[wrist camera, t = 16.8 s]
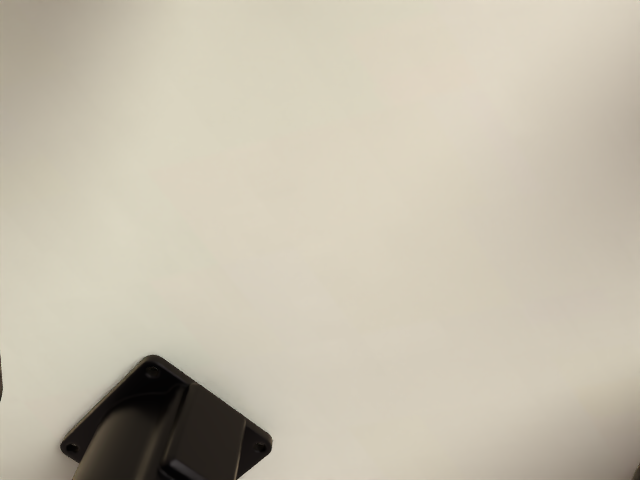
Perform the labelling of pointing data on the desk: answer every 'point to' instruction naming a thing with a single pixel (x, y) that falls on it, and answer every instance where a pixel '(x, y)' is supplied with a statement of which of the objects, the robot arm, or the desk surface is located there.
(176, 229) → the desk surface
